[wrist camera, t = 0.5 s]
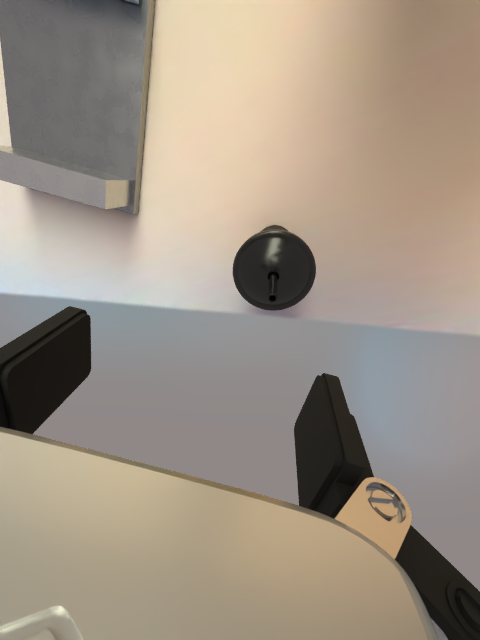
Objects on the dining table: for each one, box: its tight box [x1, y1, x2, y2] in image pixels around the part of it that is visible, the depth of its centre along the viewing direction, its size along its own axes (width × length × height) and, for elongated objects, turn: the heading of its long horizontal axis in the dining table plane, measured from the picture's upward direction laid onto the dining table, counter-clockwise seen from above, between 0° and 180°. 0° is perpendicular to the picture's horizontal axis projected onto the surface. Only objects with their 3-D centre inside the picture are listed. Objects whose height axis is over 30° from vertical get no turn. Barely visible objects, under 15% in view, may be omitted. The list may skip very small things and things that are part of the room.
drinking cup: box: [233, 225, 316, 310], centre depth 29 cm, size 8×8×20 cm
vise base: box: [0, 0, 155, 214], centre depth 29 cm, size 26×16×8 cm, turn 166°
